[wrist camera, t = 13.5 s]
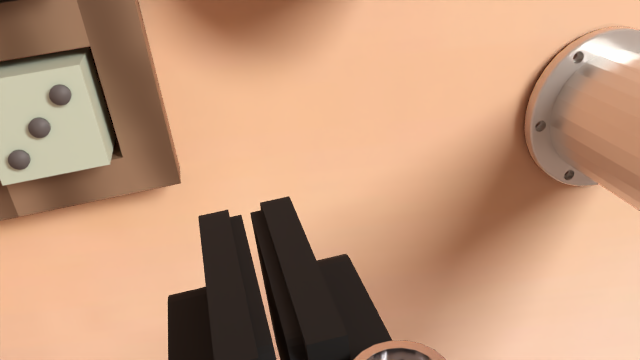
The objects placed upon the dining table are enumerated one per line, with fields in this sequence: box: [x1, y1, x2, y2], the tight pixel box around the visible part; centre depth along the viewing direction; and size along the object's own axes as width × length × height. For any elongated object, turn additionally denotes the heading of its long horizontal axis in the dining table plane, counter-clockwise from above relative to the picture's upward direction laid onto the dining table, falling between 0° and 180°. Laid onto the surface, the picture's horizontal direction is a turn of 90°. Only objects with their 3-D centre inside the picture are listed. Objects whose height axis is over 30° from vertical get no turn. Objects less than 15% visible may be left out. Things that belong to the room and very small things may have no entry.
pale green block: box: [0, 47, 115, 186], centre depth 35 cm, size 6×6×5 cm
